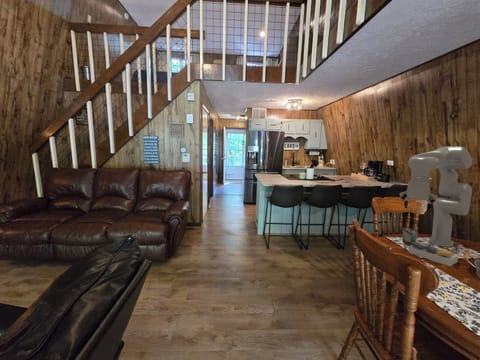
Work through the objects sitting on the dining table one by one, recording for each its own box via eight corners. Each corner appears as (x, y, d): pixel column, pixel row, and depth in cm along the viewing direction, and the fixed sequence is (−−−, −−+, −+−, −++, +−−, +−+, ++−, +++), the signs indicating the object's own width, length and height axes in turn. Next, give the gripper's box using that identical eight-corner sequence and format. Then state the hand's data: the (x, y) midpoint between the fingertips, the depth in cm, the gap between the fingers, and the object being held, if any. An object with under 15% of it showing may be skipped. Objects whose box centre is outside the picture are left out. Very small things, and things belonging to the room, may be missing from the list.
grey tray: (416, 249, 145) (416, 243, 144) (457, 262, 128) (458, 255, 127) (408, 252, 140) (409, 246, 140) (450, 266, 123) (450, 259, 122)
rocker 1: (413, 243, 141) (414, 241, 141) (424, 248, 137) (425, 246, 136) (410, 245, 139) (411, 242, 139) (420, 250, 135) (421, 247, 134)
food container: (421, 249, 145) (422, 234, 144) (410, 248, 146) (412, 233, 145) (411, 241, 157) (412, 228, 156) (401, 241, 158) (402, 227, 157)
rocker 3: (440, 253, 130) (440, 250, 130) (453, 255, 125) (452, 252, 125) (437, 255, 128) (436, 252, 128) (450, 257, 123) (449, 253, 123)
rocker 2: (426, 247, 136) (427, 244, 135) (437, 252, 131) (438, 250, 131) (422, 249, 134) (423, 246, 133) (434, 254, 129) (435, 251, 128)
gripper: (439, 179, 124) (436, 210, 126) (401, 177, 135) (399, 205, 137) (439, 181, 118) (436, 212, 120) (399, 179, 129) (397, 208, 131)
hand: (416, 209), depth 129 cm, fingers open, 9 cm apart
